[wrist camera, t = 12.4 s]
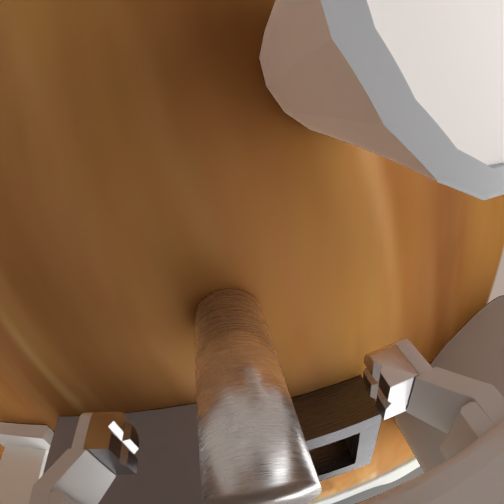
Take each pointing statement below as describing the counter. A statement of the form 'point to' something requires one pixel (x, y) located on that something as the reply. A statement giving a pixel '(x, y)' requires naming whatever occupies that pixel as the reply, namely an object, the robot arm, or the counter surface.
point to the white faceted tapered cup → (397, 81)
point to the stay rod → (246, 409)
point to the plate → (26, 435)
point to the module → (20, 473)
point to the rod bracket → (339, 426)
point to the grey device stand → (150, 457)
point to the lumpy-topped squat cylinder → (464, 363)
